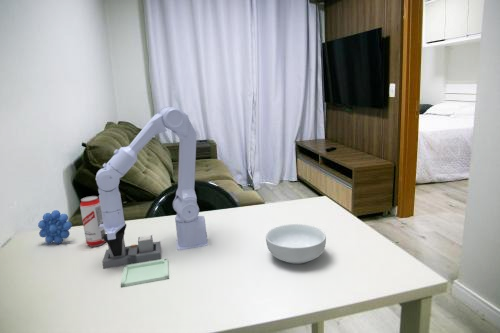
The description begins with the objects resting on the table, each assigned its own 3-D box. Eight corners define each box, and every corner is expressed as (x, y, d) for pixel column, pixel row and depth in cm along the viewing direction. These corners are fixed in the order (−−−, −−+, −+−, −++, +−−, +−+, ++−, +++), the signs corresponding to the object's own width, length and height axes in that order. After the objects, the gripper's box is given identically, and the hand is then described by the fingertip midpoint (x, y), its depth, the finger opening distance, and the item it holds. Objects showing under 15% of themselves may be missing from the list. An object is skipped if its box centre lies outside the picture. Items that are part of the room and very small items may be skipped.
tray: (168, 262, 100) (167, 258, 99) (169, 280, 90) (168, 275, 90) (125, 269, 97) (124, 265, 97) (121, 288, 87) (120, 284, 87)
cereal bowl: (331, 248, 102) (331, 226, 101) (318, 277, 88) (317, 252, 86) (278, 241, 110) (277, 220, 108) (257, 266, 95) (256, 242, 93)
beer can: (99, 248, 112) (91, 201, 108) (82, 247, 113) (74, 201, 109) (110, 239, 118) (103, 195, 114) (94, 239, 119) (87, 195, 115)
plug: (126, 254, 104) (123, 235, 103) (125, 259, 101) (122, 240, 99) (112, 256, 103) (109, 237, 102) (110, 262, 100) (107, 242, 98)
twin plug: (154, 252, 106) (152, 234, 105) (154, 258, 103) (151, 239, 101) (141, 255, 105) (138, 236, 104) (140, 260, 102) (137, 241, 100)
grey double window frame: (161, 248, 109) (159, 240, 108) (161, 260, 101) (159, 251, 100) (107, 257, 105) (106, 248, 104) (103, 269, 97) (102, 260, 97)
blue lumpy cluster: (81, 237, 121) (75, 205, 118) (70, 246, 114) (64, 212, 112) (49, 238, 121) (43, 206, 119) (37, 247, 115) (30, 213, 112)
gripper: (101, 203, 104) (107, 244, 107) (92, 220, 91) (100, 266, 94) (125, 200, 106) (131, 240, 109) (120, 216, 92) (127, 261, 95)
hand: (118, 252), depth 102 cm, fingers closed on plug, 3 cm apart
